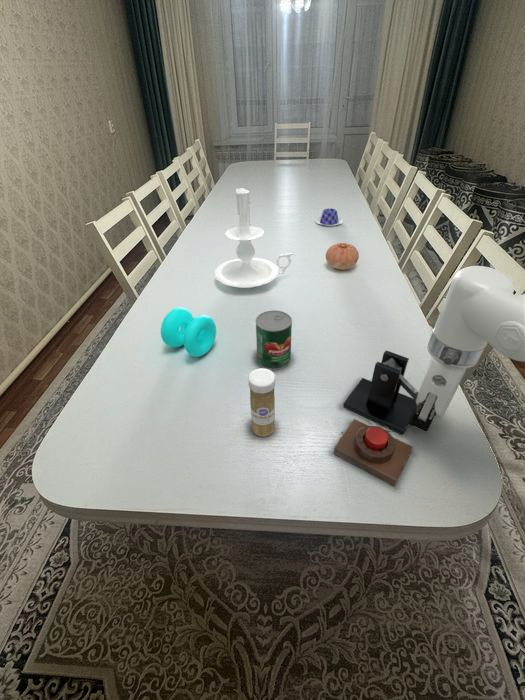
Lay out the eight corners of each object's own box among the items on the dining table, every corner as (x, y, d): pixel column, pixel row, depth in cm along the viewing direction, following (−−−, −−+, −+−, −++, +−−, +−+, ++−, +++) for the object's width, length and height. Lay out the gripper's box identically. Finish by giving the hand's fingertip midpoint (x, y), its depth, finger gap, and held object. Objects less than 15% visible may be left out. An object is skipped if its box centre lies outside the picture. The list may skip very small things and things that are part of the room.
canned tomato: (276, 375, 80) (276, 335, 73) (250, 360, 84) (247, 321, 77) (297, 357, 84) (299, 318, 78) (271, 344, 89) (271, 306, 82)
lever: (430, 412, 67) (444, 406, 65) (425, 423, 65) (439, 418, 63) (382, 362, 68) (394, 354, 65) (375, 371, 66) (387, 364, 63)
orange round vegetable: (359, 274, 117) (363, 250, 112) (326, 274, 117) (328, 251, 112) (353, 260, 126) (357, 237, 121) (322, 260, 126) (324, 238, 121)
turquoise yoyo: (194, 366, 83) (188, 331, 77) (162, 353, 87) (154, 318, 81) (220, 343, 89) (216, 309, 83) (189, 332, 94) (183, 298, 87)
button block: (410, 452, 63) (415, 440, 61) (394, 486, 58) (399, 474, 56) (352, 424, 68) (355, 412, 66) (333, 453, 63) (335, 441, 61)
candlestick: (295, 294, 108) (299, 196, 90) (213, 297, 107) (201, 200, 90) (288, 264, 124) (290, 177, 106) (216, 267, 123) (207, 180, 106)
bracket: (417, 405, 72) (433, 360, 65) (402, 434, 66) (418, 389, 59) (361, 381, 78) (370, 337, 70) (343, 407, 72) (350, 362, 65)
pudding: (342, 227, 150) (344, 215, 147) (314, 226, 152) (314, 214, 149) (342, 218, 160) (344, 206, 156) (315, 217, 162) (316, 205, 158)
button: (389, 439, 62) (391, 433, 61) (381, 454, 59) (383, 447, 58) (369, 430, 63) (370, 423, 62) (360, 444, 61) (362, 437, 60)
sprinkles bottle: (255, 440, 66) (252, 388, 58) (248, 422, 69) (245, 370, 61) (278, 434, 67) (279, 382, 59) (271, 416, 70) (270, 364, 62)
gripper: (469, 386, 49) (429, 462, 61) (491, 327, 59) (453, 402, 71) (414, 365, 52) (386, 440, 64) (444, 313, 63) (415, 386, 74)
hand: (422, 419), depth 67 cm, fingers closed on lever, 3 cm apart
